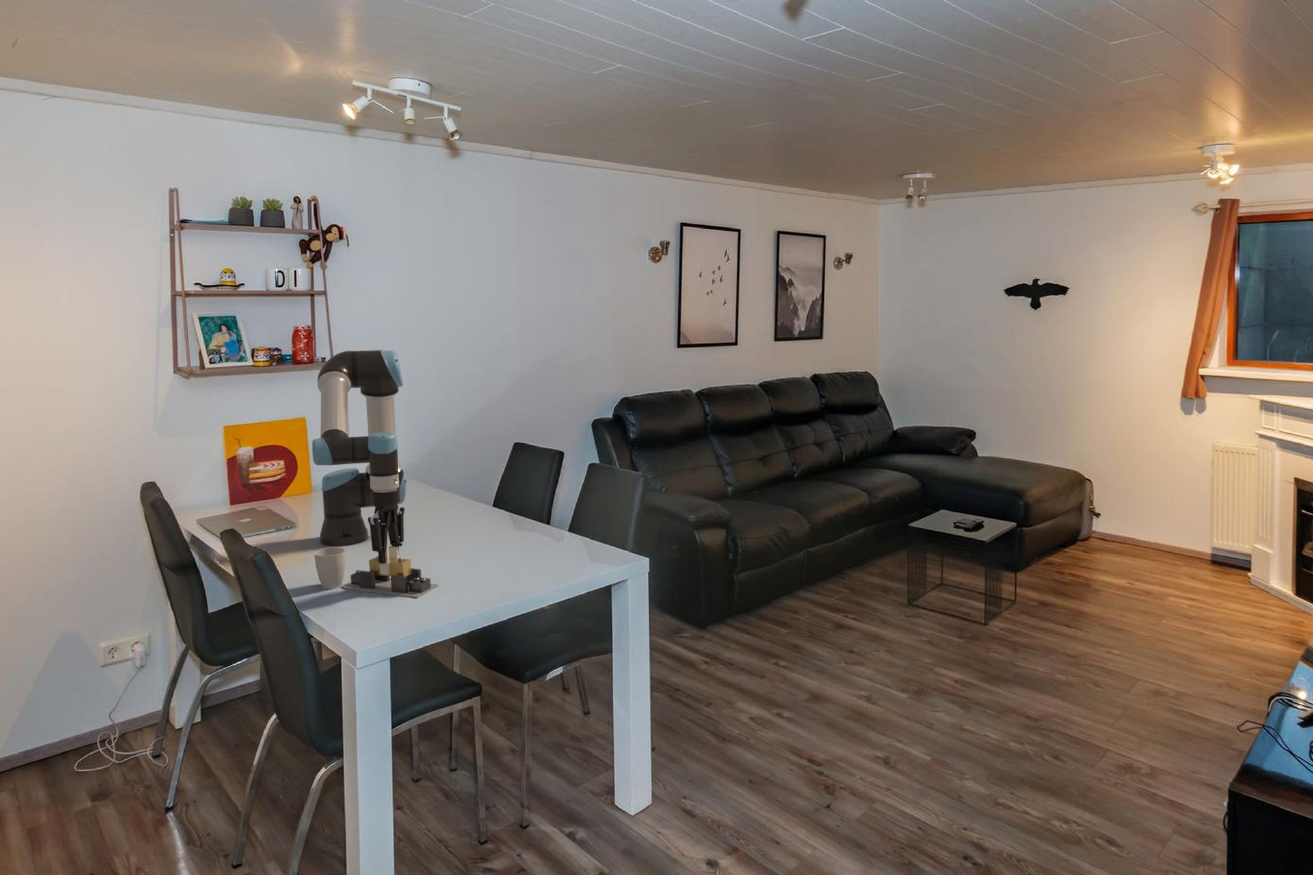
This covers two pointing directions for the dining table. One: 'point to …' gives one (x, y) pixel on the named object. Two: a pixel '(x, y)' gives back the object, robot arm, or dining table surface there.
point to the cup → (330, 566)
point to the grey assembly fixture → (393, 581)
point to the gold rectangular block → (392, 566)
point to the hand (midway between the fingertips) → (389, 571)
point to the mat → (387, 589)
